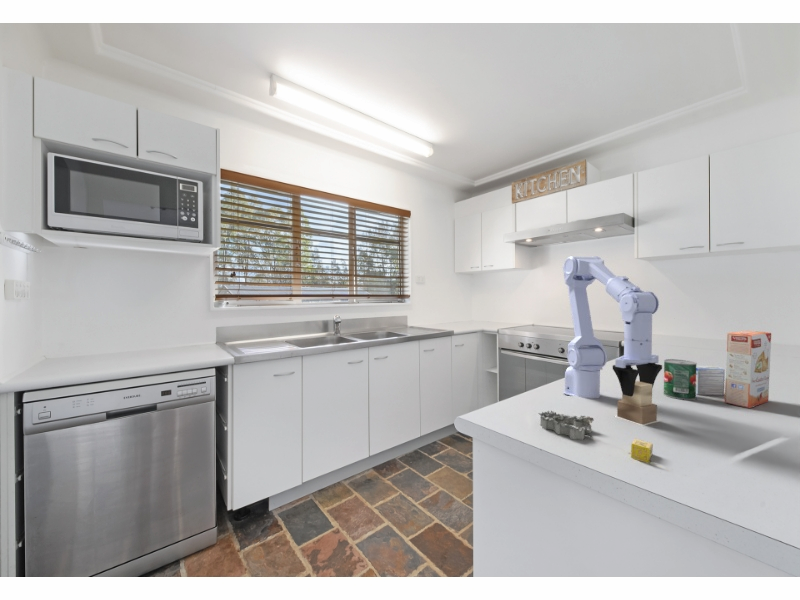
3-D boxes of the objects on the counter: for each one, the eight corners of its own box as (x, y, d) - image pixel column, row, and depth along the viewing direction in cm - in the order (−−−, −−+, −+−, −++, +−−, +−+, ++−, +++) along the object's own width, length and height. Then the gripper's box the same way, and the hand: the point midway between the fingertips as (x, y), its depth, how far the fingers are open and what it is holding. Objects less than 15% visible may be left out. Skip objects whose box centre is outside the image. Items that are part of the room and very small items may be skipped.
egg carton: (596, 435, 78) (596, 418, 78) (577, 443, 74) (578, 424, 74) (553, 420, 88) (554, 404, 87) (535, 426, 83) (535, 410, 83)
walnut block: (617, 416, 88) (617, 401, 88) (631, 412, 90) (631, 397, 90) (642, 424, 82) (642, 408, 82) (656, 420, 85) (656, 404, 85)
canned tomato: (657, 392, 112) (658, 358, 111) (684, 393, 110) (685, 359, 110) (673, 399, 104) (674, 363, 103) (702, 400, 103) (703, 364, 102)
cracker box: (751, 409, 95) (753, 334, 94) (723, 403, 100) (724, 332, 100) (771, 402, 101) (772, 331, 101) (743, 396, 107) (744, 329, 106)
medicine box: (713, 392, 112) (713, 365, 112) (724, 396, 107) (725, 368, 107) (687, 391, 112) (687, 365, 112) (697, 395, 108) (698, 368, 108)
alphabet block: (652, 458, 67) (652, 442, 67) (649, 463, 65) (649, 448, 65) (634, 452, 70) (634, 438, 70) (630, 458, 67) (630, 443, 67)
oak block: (622, 401, 87) (622, 382, 87) (633, 399, 89) (633, 380, 89) (640, 406, 83) (640, 386, 83) (652, 404, 85) (652, 384, 85)
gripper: (636, 343, 79) (636, 401, 79) (672, 340, 85) (671, 393, 86) (607, 340, 86) (606, 393, 86) (642, 336, 92) (641, 386, 92)
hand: (637, 393), depth 86 cm, fingers open, 7 cm apart
